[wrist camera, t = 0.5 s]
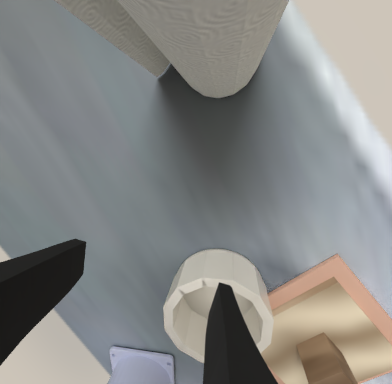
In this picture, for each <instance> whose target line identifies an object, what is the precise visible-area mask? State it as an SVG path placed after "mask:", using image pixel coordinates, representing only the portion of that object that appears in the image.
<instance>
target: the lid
mask: <svg viewBox="0 0 392 384" xmlns="http://www.w3.org/2000/svg"><path fill="white" fill-rule="evenodd" d="M272 314H273V319H274V323H273V330H272V338H271V344H270V345H269V346H268V347H267V348H266V349H265V350H264V351H263V352H262V353H261V355H262V357H263V359H264V361H265V362H266V364H267V365H268V366H269V367H270V368H271V369H272V371H273V372H274V373H275V374H276V375H277V376H278V377H279V378H280V379H281V380H282V381H283V382H284V383H285V384H358V383H357V382H360V381H363V380H365V379H368V378H371V377H373V376H376V375H379V374H381V373H384V372H387V371H389V370H392V345H391V344H390V343H389V341H388V340H387V339H386V338H385V337H384V335H383V334H382V333H381V332H380V331H379V329H378V328H377V327H376V326H375V325H374V324H373V322H372V321H371V320H370V319H369V318H368V316H367V315H366V314H365V313H364V312H363V311H362V309H361V308H360V307H359V306H358V305H357V303H356V302H355V301H354V300H353V299H352V298H351V296H350V295H349V294H348V293H347V292H346V290H345V289H344V288H343V287H342V286H341V285H340V283H339V282H338V281H337V280H336V279H335V277H332V278H330V279H328V280H326V281H324V282H323V283H321V284H319V285H317V286H315V287H313V288H312V289H310V290H308V291H306V292H304V293H302V294H301V295H299V296H297V297H295V298H293V299H291V300H289V301H288V302H286V303H284V304H282V305H280V306H278V307H277V308H275V309H273V310H272Z"/></svg>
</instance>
